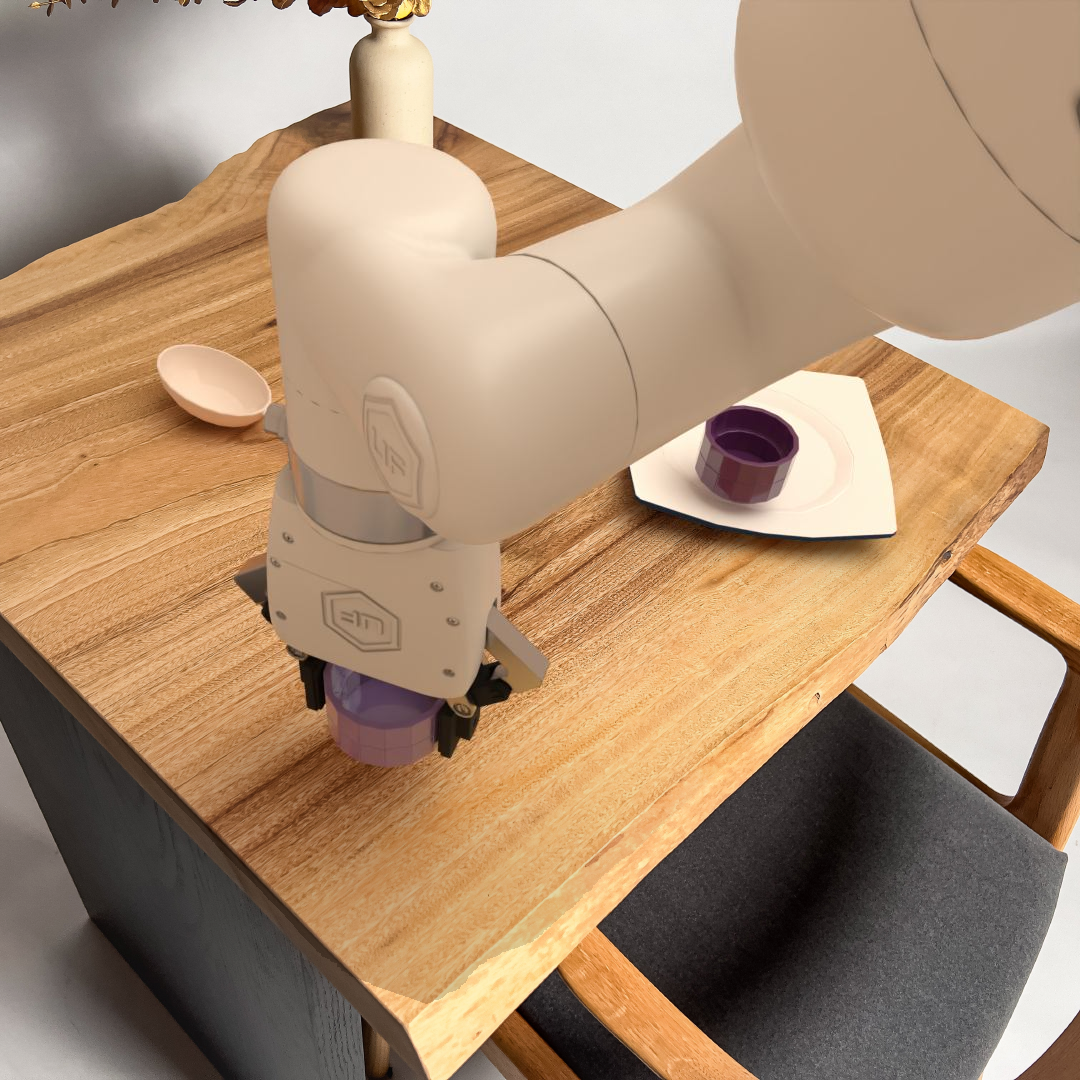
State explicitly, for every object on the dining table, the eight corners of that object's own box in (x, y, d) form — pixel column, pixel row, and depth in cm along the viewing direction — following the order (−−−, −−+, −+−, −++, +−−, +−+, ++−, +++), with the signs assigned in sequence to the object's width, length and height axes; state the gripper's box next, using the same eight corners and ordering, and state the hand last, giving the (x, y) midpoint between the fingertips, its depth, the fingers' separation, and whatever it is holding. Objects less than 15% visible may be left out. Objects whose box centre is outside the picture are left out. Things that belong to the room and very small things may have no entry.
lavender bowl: (475, 735, 53) (479, 692, 50) (365, 794, 50) (363, 751, 47) (412, 651, 57) (413, 606, 54) (306, 701, 54) (301, 656, 51)
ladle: (193, 362, 79) (193, 313, 75) (491, 547, 74) (506, 504, 71) (135, 399, 75) (133, 349, 71) (447, 597, 70) (461, 554, 67)
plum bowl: (802, 488, 72) (818, 446, 69) (736, 520, 69) (750, 478, 66) (740, 437, 76) (753, 395, 73) (675, 465, 73) (686, 422, 70)
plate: (626, 365, 85) (631, 339, 83) (862, 398, 85) (872, 372, 83) (616, 532, 71) (622, 505, 69) (899, 571, 71) (913, 545, 69)
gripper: (143, 457, 39) (207, 714, 52) (561, 592, 36) (519, 828, 49) (243, 356, 44) (278, 612, 57) (616, 467, 41) (565, 710, 54)
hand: (390, 710), depth 53 cm, fingers closed on lavender bowl, 6 cm apart
